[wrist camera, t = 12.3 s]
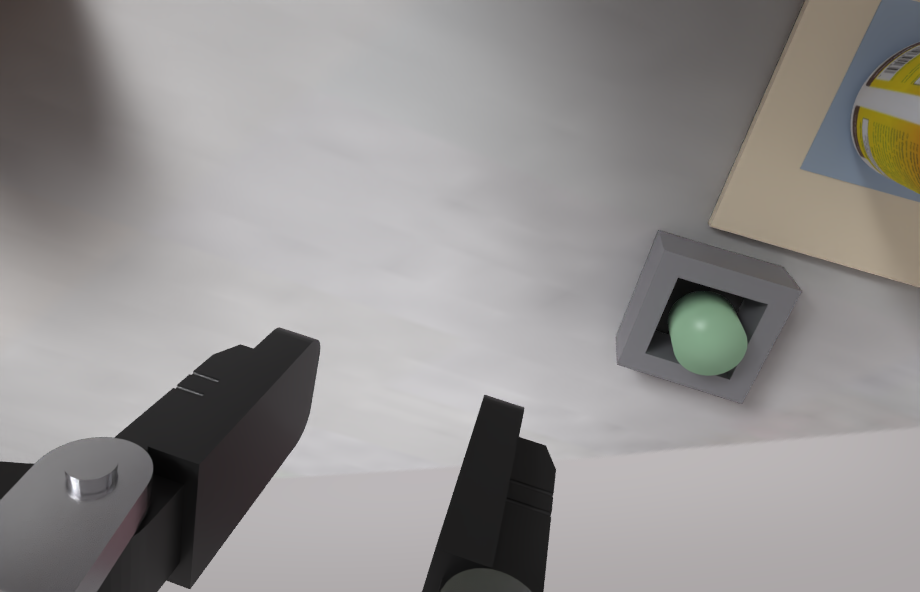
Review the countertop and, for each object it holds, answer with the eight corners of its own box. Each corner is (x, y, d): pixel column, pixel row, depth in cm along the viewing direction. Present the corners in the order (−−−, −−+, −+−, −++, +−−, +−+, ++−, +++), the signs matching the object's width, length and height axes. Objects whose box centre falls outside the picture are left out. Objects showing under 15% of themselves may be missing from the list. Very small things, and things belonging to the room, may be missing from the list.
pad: (845, -94, 24) (852, -97, 23) (1178, -14, 23) (1194, -15, 22) (708, 222, 29) (710, 227, 29) (970, 299, 28) (978, 305, 28)
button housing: (658, 230, 30) (664, 250, 27) (783, 267, 29) (801, 291, 27) (615, 336, 32) (617, 364, 30) (730, 372, 32) (742, 404, 29)
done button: (682, 282, 29) (688, 304, 26) (747, 302, 28) (759, 325, 26) (657, 338, 30) (662, 363, 28) (719, 357, 30) (729, 384, 27)
